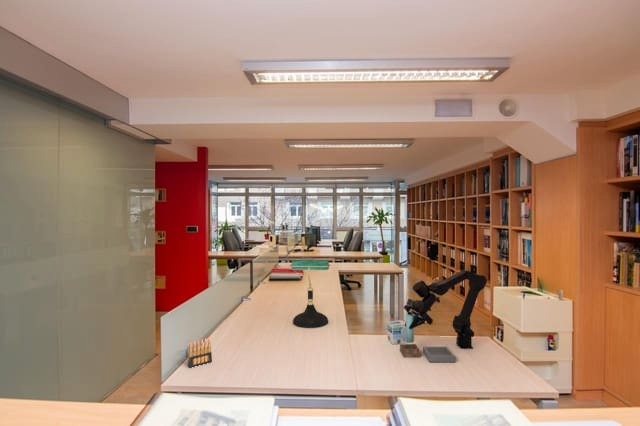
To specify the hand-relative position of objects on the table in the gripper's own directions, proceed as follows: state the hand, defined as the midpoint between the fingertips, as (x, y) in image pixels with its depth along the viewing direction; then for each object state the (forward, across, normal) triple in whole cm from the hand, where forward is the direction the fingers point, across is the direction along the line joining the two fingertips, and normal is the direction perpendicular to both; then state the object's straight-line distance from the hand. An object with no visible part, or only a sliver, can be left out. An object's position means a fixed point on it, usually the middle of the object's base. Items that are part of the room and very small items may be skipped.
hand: (407, 327), depth 174 cm
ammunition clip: (+79, -20, -60) cm, 101 cm away
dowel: (+4, 0, +6) cm, 7 cm away
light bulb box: (+6, -17, +13) cm, 22 cm away
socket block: (+9, 0, +10) cm, 14 cm away
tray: (+1, +8, +18) cm, 20 cm away
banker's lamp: (+32, -65, -13) cm, 74 cm away
